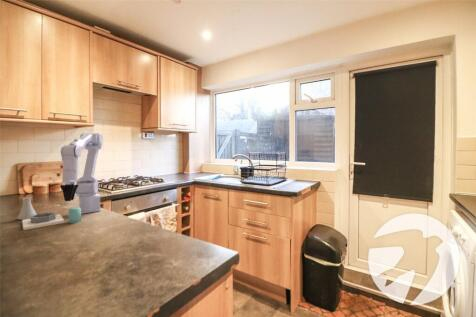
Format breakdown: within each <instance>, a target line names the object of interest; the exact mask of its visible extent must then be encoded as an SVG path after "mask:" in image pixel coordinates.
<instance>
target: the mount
mask: <svg viewBox="0 0 476 317" xmlns="http://www.w3.org/2000/svg"><path fill="white" fill-rule="evenodd" d="M30 218H31V219H24V220H22V229H23V230H22V231H25V230H26V231H27V230H32V229H37V228H42V227H43V228H44V227H49V226H53V225H60V224H64V223H65V219H64V218H63V216H62V215H61V214H60V213H59V214H56V213H55V212H43V213H42V212H41V213H36V215H33V216H30Z"/></svg>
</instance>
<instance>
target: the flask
mask: <svg viewBox="0 0 476 317" xmlns="http://www.w3.org/2000/svg"><path fill="white" fill-rule="evenodd" d="M31 199H32V197H30V196H28V197H27V196H26V197H22V198H21V200H22V206H21V208H20V211H19V214H18V216H17V218H16V220H20V221H21V220H25V219H31V218H30V216H33V215H36V214H37V212H36V211H35V209H34V207H33V205H32V202H31Z"/></svg>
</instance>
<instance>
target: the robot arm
mask: <svg viewBox="0 0 476 317" xmlns="http://www.w3.org/2000/svg"><path fill="white" fill-rule="evenodd" d="M103 136H104V135H103V134H102V133H101V132H84V131H83V132H81V134H80V138H74V140H73V141H71V142H70V143H69V144H67V145H63V146H62V147H61V148H60V156H61V161H62V178H61V183H64V184H59V187H60V189H61V192H62V194H63V200H64V202H72V201H74V199H75V196H77V197H78V207H79V208H81V215H83V214H89V213H95V212H100V211H101V196H100V193H99V181H98V179H96V178H95V172H96V171H95V170H96V167H97V159H98V156H99V155H98V154H99V150H101V149H102V147H103V144H104V143H103V142H104V137H103ZM84 149H85V150H87V155H86V159H85V164H84V170H83V175H82V176H81V177H79V178H78V172H79V171H78V170H79V166H78V165H79V157H81V154H82V151H83V150H84Z"/></svg>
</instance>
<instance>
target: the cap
mask: <svg viewBox="0 0 476 317" xmlns="http://www.w3.org/2000/svg"><path fill="white" fill-rule="evenodd" d="M67 211H68V212H67V213H68V215H67V216H68V224H77V223H79V222H81V221H82V214H81V208H79V206H78V207H72V208H68V209H67Z"/></svg>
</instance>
